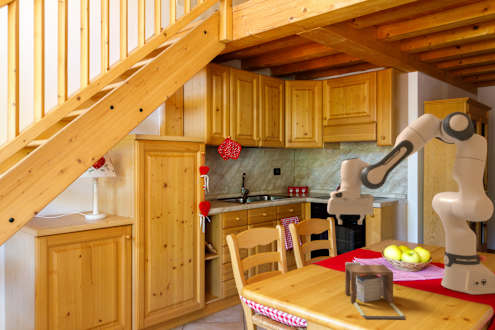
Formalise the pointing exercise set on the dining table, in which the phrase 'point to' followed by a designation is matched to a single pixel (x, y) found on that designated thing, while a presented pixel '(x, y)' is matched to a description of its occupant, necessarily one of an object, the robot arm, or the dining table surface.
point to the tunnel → (369, 270)
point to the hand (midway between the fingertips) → (350, 224)
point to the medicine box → (368, 288)
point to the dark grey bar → (384, 317)
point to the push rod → (350, 273)
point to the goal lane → (390, 304)
